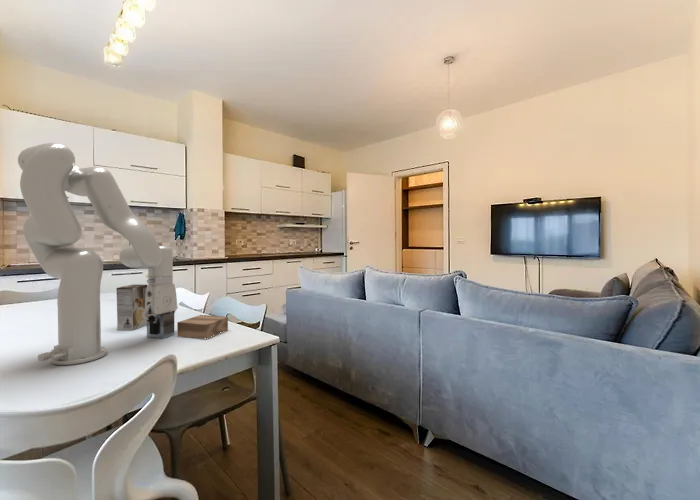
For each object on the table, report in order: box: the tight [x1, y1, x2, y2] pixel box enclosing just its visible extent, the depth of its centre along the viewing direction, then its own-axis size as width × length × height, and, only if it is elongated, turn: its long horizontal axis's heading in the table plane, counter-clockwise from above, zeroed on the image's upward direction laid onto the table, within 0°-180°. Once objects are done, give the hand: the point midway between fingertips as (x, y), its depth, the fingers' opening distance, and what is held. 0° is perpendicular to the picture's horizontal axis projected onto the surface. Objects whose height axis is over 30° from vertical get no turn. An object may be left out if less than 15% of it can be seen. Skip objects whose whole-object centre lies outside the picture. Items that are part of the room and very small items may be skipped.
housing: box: [146, 312, 175, 340], centre depth 118 cm, size 5×7×8 cm
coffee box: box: [116, 284, 148, 331], centre depth 129 cm, size 9×6×16 cm
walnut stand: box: [176, 314, 229, 340], centre depth 122 cm, size 12×12×5 cm
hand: (160, 331), depth 118 cm, fingers closed on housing, 5 cm apart
